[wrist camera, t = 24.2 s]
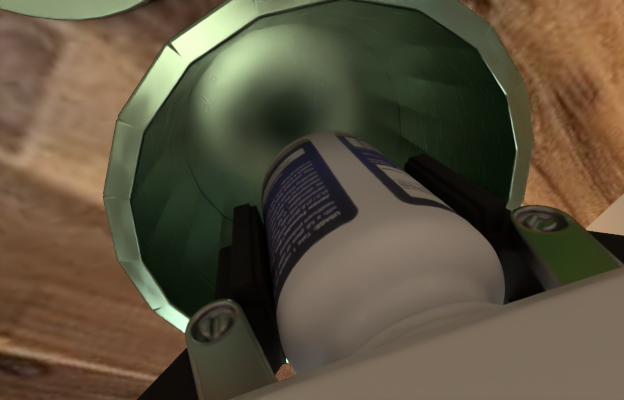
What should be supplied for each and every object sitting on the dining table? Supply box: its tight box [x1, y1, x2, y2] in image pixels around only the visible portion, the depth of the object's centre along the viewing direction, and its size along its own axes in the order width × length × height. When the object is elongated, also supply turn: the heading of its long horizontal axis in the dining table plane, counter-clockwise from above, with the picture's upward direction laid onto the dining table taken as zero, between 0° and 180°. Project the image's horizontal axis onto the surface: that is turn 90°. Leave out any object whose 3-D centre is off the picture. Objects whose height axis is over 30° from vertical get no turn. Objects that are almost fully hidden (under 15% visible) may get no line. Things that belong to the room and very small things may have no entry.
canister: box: [103, 0, 534, 363], centre depth 14 cm, size 14×14×10 cm
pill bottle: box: [261, 131, 505, 375], centre depth 9 cm, size 5×5×10 cm
